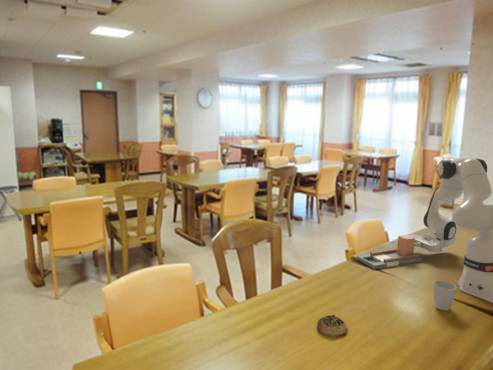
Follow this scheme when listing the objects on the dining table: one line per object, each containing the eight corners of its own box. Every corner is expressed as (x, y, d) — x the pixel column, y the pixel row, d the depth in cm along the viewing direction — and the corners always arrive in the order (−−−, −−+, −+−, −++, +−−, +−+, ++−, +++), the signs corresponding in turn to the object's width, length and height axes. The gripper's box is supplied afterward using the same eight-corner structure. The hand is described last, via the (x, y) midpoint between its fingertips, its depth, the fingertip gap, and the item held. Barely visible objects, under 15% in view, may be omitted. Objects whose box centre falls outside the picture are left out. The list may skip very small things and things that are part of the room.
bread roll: (325, 316, 143) (327, 305, 141) (351, 331, 136) (354, 319, 134) (310, 330, 134) (312, 318, 133) (338, 346, 128) (340, 334, 126)
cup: (457, 312, 147) (460, 289, 145) (437, 312, 147) (439, 289, 145) (447, 302, 155) (449, 280, 153) (427, 302, 155) (430, 280, 153)
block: (413, 255, 203) (415, 238, 201) (404, 256, 200) (406, 239, 199) (405, 251, 208) (406, 234, 206) (396, 253, 206) (398, 236, 204)
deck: (421, 261, 200) (422, 255, 199) (374, 269, 188) (374, 262, 188) (402, 252, 213) (402, 246, 212) (356, 259, 201) (357, 253, 201)
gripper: (416, 231, 219) (398, 233, 214) (445, 241, 200) (426, 244, 195) (415, 241, 220) (397, 243, 215) (444, 252, 201) (425, 255, 196)
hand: (411, 244), depth 205 cm, fingers closed
